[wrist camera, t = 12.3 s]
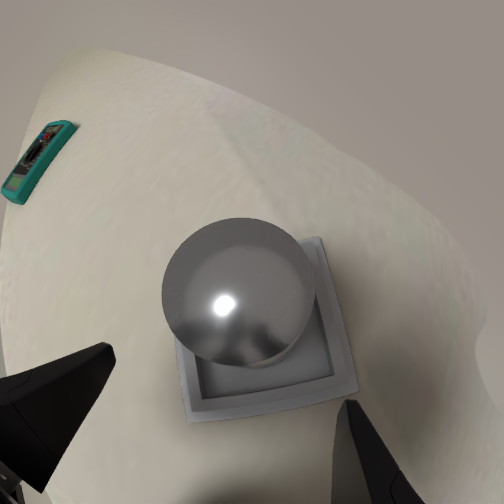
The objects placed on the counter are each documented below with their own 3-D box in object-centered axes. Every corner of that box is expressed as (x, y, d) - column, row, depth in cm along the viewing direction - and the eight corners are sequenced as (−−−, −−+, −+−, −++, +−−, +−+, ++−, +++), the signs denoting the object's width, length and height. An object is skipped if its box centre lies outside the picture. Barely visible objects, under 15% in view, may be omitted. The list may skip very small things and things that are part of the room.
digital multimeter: (80, 128, 33) (72, 115, 31) (24, 208, 28) (12, 197, 25) (57, 130, 35) (49, 118, 32) (7, 201, 29) (-4, 191, 27)
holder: (189, 421, 17) (180, 426, 15) (170, 268, 22) (161, 259, 20) (357, 390, 17) (365, 392, 15) (318, 239, 22) (321, 227, 20)
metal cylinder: (207, 355, 18) (141, 335, 9) (231, 283, 20) (193, 206, 11) (285, 378, 17) (292, 385, 8) (305, 302, 19) (328, 234, 10)
